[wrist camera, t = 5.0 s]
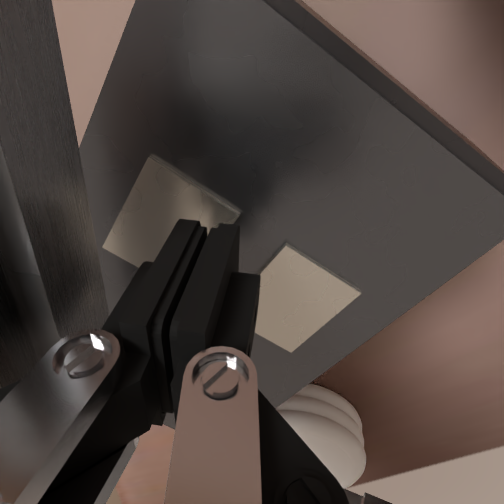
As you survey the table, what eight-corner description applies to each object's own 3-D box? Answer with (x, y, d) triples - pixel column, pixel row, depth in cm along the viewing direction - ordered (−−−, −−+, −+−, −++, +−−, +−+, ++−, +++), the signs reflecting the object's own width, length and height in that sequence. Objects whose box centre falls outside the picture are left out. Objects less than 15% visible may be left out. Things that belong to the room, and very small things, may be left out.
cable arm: (-156, -102, 6) (-513, -174, 3) (36, -82, 5) (-182, -143, 3) (51, 419, 14) (-5, 512, 11) (131, 432, 14) (92, 529, 11)
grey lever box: (224, -64, 13) (-107, -292, 3) (470, 140, 16) (784, 424, 5) (68, 272, 22) (-130, 504, 12) (236, 361, 25) (188, 611, 15)
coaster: (292, 356, 25) (290, 404, 22) (389, 424, 28) (399, 474, 25) (203, 412, 30) (192, 457, 27) (294, 466, 33) (293, 511, 30)
